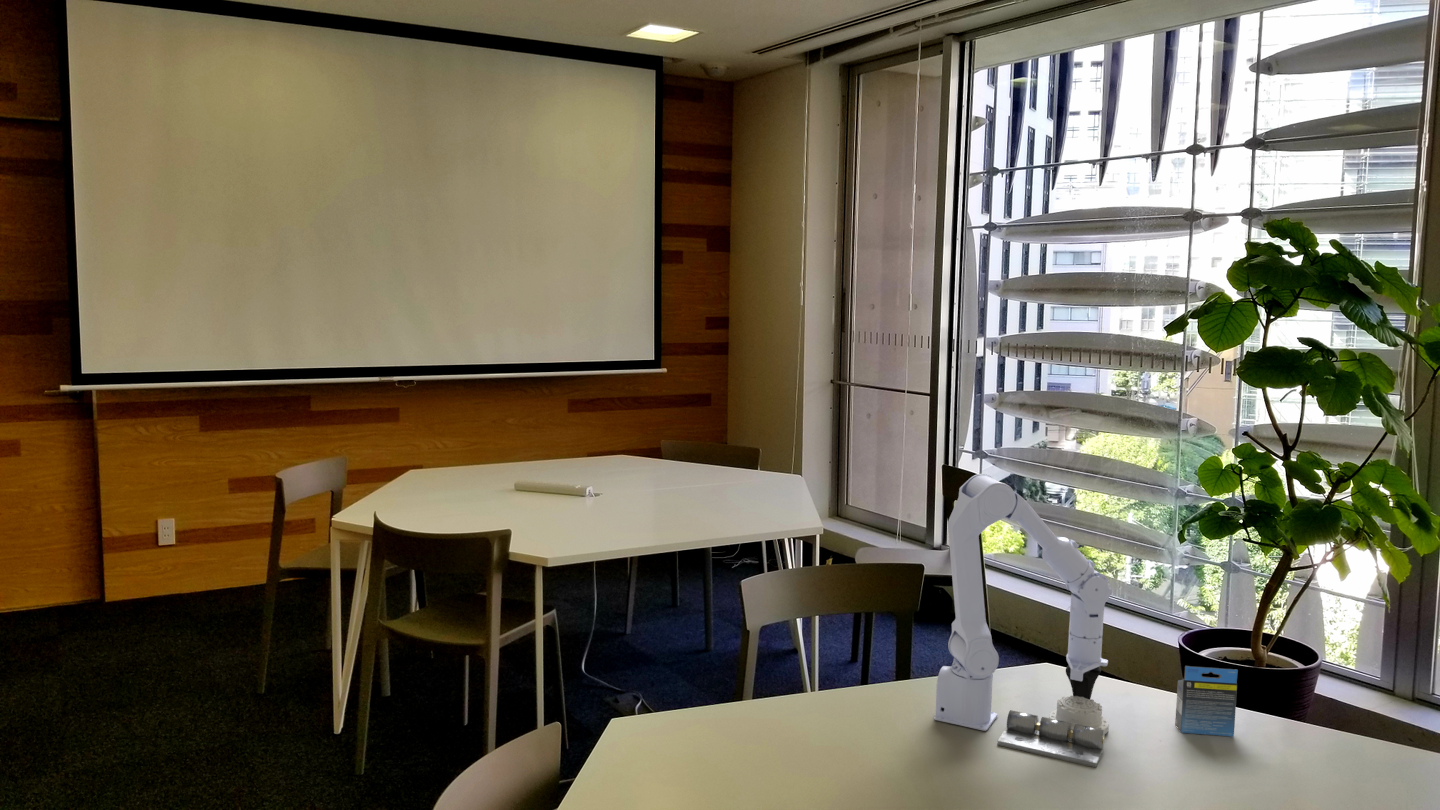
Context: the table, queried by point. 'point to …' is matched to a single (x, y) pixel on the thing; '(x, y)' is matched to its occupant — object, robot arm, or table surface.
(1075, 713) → the mechanical component
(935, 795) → the table surface
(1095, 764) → the hinge leaf
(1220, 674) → the blue ink cartridge box
